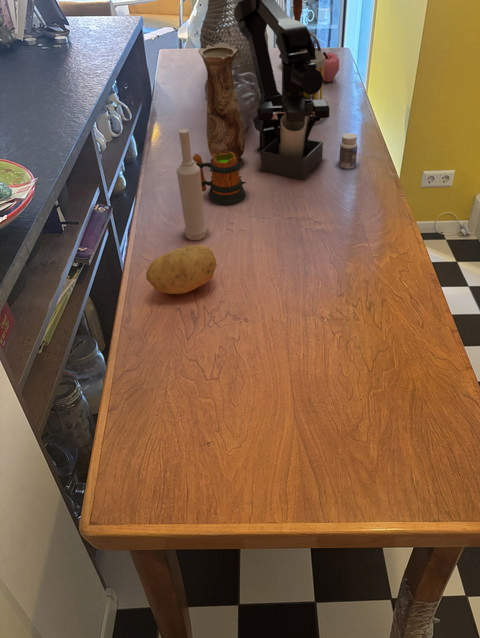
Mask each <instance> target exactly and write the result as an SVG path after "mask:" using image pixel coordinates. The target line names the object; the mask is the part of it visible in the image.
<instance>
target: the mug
mask: <svg viewBox="0 0 480 638" xmlns="http://www.w3.org/2000/svg"><path fill="white" fill-rule="evenodd" d="M192 160H193V161H194V163H195V164H196V165H197V166H199V167H200V173H201V185H202V193H203V192H206V190H207V186H209V187H210V188H209V191H208V200H209V201H210V202H212V203H213V204H216V205H219V206H233V205H236V204H239V203H241V202H242V201H244V200H245V198H246V191H245V189H244V187H243V185H244V184H247V181H242V176H241V175H240V168H241V167H243V166H244V165H245V164H242V163H239V162H238V160H239V159H236V156H235V154H234V153H233V152H230V151H229V152H228V153H220V154H213V156H211V159H210V162H203V159H202V157H201V155H200V154H199V153H195V154H194V155H193V156H192ZM242 165H243V166H242ZM240 166H241V167H240ZM239 167H240V168H239ZM204 168H210V170H209V172H211V176H210V179H211V180H210V181H207V180H206V179H205V175H204Z"/></svg>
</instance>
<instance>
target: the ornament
mask: <svg viewBox="0 0 480 638" xmlns="http://www.w3.org/2000/svg"><path fill="white" fill-rule="evenodd" d="M236 68H238V70H237V71H236V70H235V71H236V72H235V71H233V70H232V74H233V78H234V79H235V81H236V82H234V85H235V91H236V95H237V100H238V104H239V109H240V114H241V118H242V123H243V128H244V131H245V130H246V129H248V128H249V127H250V126H251V125H254V119H255V117H256V116H257V104H258V102H259V100H260V96H261V95H260V90H258V88H257V86H256V76H255V75H254V74H253V73H251V72H248V73H243V74H238V73H239V72H240V70H241V66H239V65H238V66H237V67H236ZM246 77H250V78H251V80H250V81H245V80H244V79H243V78H246ZM207 85H208V81H207V79H206V80H205V83H204V94H205V97H204V98H205V100H206V101H207ZM254 91H255V94H254V93H253V92H254Z"/></svg>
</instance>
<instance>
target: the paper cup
mask: <svg viewBox="0 0 480 638" xmlns="http://www.w3.org/2000/svg"><path fill="white" fill-rule="evenodd" d="M306 123H307V121H306V118H305V121H304V122H292V123H290V122H287V120H286V114H284V115H283V116H282V118H281V123H280V143H279V155H283V156H288V157H293V158H297V159H302V157H303V150H304V141H305V133H306Z"/></svg>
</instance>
